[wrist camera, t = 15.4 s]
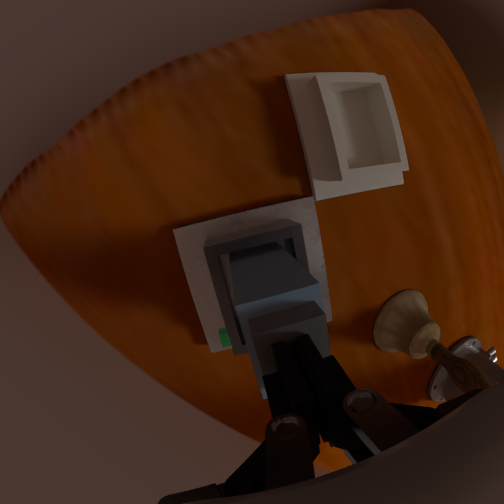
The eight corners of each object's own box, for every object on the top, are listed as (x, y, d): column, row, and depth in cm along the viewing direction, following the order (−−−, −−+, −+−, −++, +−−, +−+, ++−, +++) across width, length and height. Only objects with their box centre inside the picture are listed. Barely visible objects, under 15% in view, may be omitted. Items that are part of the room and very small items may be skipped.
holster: (372, 75, 22) (391, 63, 18) (399, 183, 25) (422, 184, 21) (283, 77, 21) (294, 61, 18) (313, 200, 24) (329, 202, 20)
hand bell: (378, 362, 29) (450, 446, 14) (366, 310, 27) (463, 396, 12) (427, 330, 30) (508, 392, 14) (422, 277, 28) (525, 331, 12)
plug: (275, 240, 23) (331, 294, 11) (289, 304, 24) (342, 394, 12) (228, 252, 23) (236, 321, 11) (246, 316, 24) (267, 417, 12)
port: (307, 195, 24) (328, 197, 19) (326, 314, 27) (346, 337, 22) (175, 227, 23) (164, 236, 18) (211, 344, 26) (210, 374, 21)
